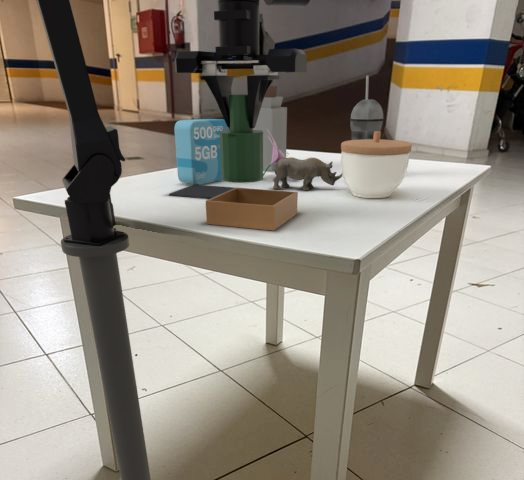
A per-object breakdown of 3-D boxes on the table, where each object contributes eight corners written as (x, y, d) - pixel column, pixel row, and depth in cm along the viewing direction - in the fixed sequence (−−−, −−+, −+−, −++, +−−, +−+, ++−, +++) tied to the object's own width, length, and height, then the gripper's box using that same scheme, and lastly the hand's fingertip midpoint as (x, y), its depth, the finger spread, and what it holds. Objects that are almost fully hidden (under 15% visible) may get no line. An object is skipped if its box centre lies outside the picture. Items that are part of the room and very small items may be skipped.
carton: (274, 230, 72) (274, 206, 71) (206, 224, 76) (205, 200, 74) (297, 213, 81) (297, 191, 79) (236, 208, 85) (235, 187, 83)
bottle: (253, 184, 75) (252, 95, 70) (214, 181, 78) (210, 95, 72) (269, 177, 81) (269, 94, 75) (232, 174, 83) (230, 94, 77)
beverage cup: (384, 174, 114) (394, 75, 104) (366, 179, 109) (376, 75, 99) (357, 171, 118) (365, 75, 108) (339, 175, 113) (346, 75, 104)
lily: (280, 191, 103) (303, 147, 100) (234, 164, 105) (256, 120, 102) (296, 198, 114) (317, 159, 111) (254, 173, 116) (274, 134, 113)
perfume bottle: (271, 171, 119) (272, 86, 110) (248, 168, 122) (247, 86, 113) (285, 167, 124) (287, 85, 115) (263, 165, 127) (262, 85, 118)
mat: (216, 199, 91) (215, 197, 91) (168, 195, 94) (168, 193, 94) (238, 189, 99) (237, 187, 99) (193, 186, 103) (193, 184, 103)
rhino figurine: (341, 192, 97) (343, 159, 94) (271, 190, 99) (272, 158, 96) (341, 188, 100) (344, 156, 97) (274, 186, 102) (275, 155, 99)
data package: (193, 185, 101) (189, 121, 96) (177, 183, 103) (173, 120, 98) (230, 178, 110) (229, 119, 104) (215, 176, 112) (212, 118, 107)
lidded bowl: (363, 185, 102) (368, 127, 97) (417, 194, 94) (427, 131, 89) (324, 194, 94) (327, 131, 89) (380, 205, 87) (387, 136, 81)
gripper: (320, 7, 71) (315, 125, 79) (206, 13, 78) (211, 122, 85) (295, -4, 62) (292, 131, 70) (168, 4, 69) (177, 127, 76)
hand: (241, 127), depth 76 cm, fingers closed on bottle, 3 cm apart
